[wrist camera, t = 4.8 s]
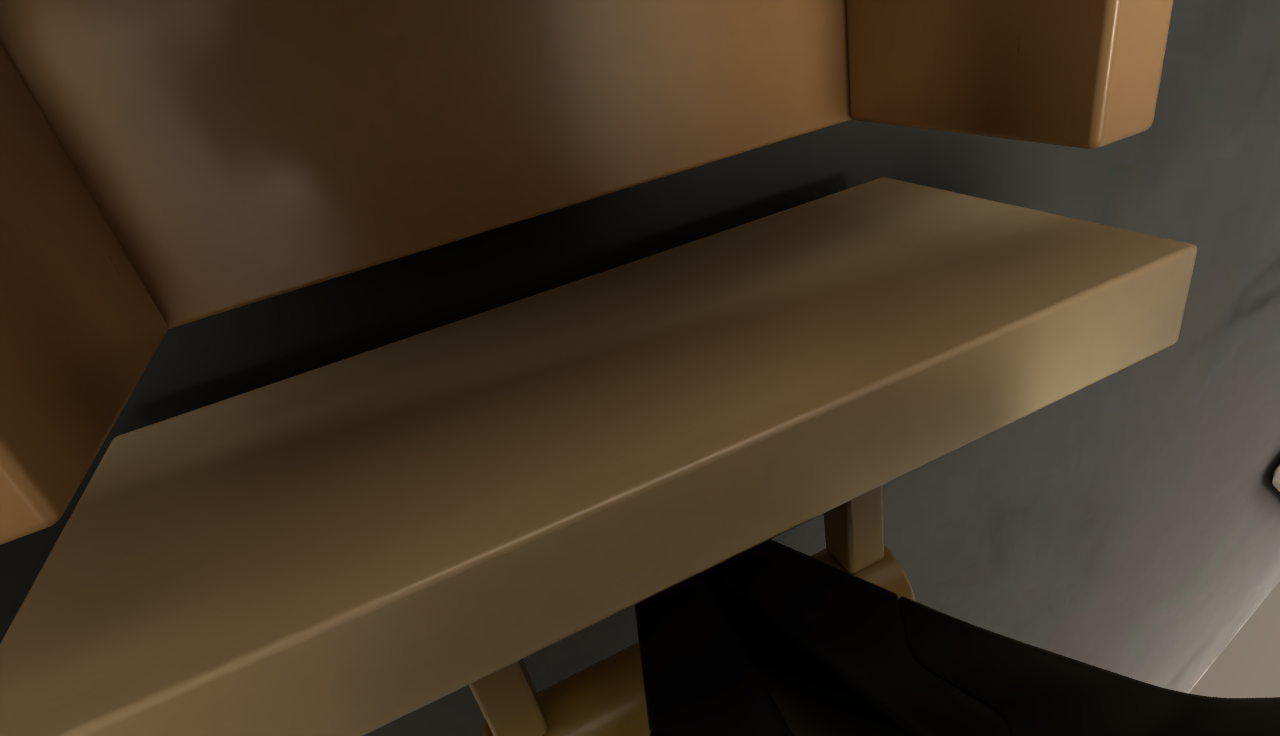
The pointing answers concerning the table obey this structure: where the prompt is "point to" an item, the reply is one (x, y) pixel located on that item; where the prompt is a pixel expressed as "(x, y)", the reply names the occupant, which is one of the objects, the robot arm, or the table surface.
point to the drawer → (507, 330)
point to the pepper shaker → (1276, 478)
